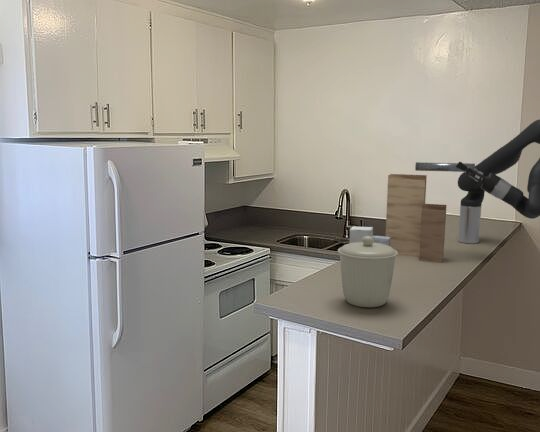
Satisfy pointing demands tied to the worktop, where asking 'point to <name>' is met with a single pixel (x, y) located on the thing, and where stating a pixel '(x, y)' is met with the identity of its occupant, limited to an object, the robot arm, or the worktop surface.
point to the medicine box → (382, 240)
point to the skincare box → (360, 233)
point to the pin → (441, 167)
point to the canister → (367, 272)
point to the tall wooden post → (432, 232)
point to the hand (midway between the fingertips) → (458, 163)
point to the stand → (405, 212)
